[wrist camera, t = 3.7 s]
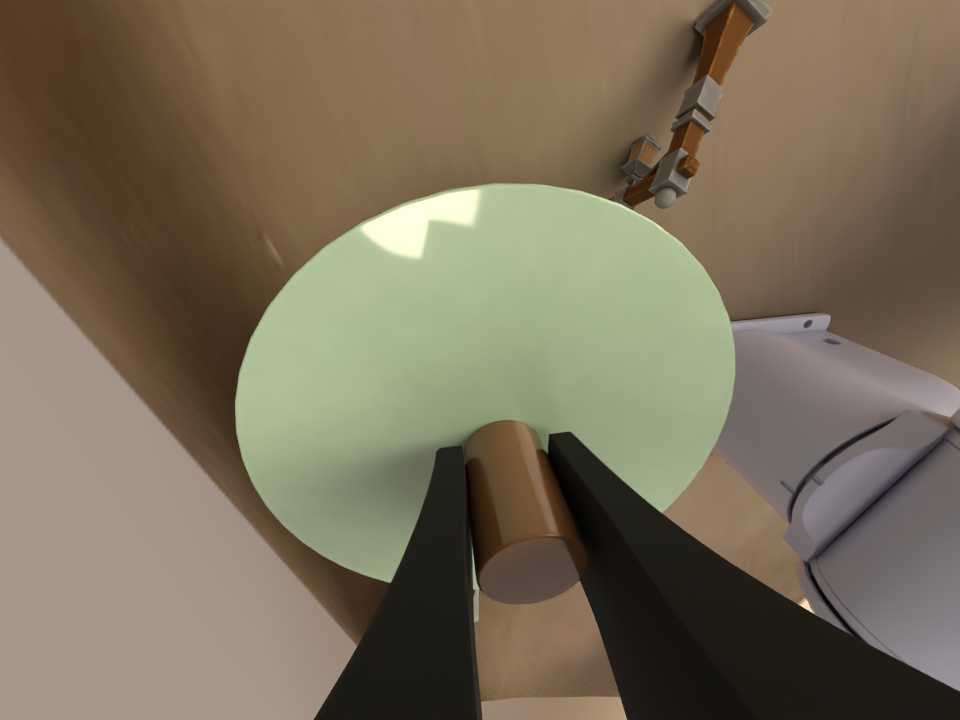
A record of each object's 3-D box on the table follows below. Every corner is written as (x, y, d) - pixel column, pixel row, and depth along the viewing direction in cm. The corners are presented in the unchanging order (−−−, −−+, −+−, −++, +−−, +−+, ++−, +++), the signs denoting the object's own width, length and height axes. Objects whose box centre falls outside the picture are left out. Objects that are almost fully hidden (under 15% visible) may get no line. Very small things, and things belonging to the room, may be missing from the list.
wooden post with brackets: (584, 221, 16) (662, 186, 12) (647, 62, 16) (747, -30, 12) (614, 240, 17) (698, 212, 12) (675, 86, 17) (779, 6, 13)
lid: (775, 163, 9) (1094, 157, 4) (661, 534, 15) (746, 667, 11) (149, 203, 7) (-201, 247, 3) (328, 587, 14) (287, 756, 10)
